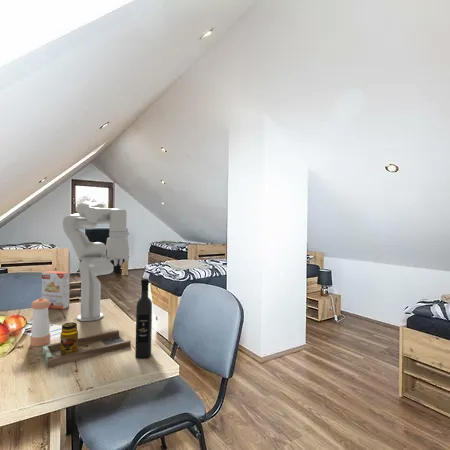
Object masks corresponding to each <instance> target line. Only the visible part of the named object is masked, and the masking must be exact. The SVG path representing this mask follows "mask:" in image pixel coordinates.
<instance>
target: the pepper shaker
mask: <svg viewBox="0 0 450 450" xmlns="http://www.w3.org/2000/svg"><path fill="white" fill-rule="evenodd" d="M30 306H31V309H32V322H31V328H30V329H31V331H30V332H31V335H30V336H29V337H30V339H29V340H30V341H29V342H30V343H29V344H30V346H31V347H42V346H45V345H49V344H51V333H50V329H51V328H50V327H51V326H50V319H49V318H50V317H49V308H48V307H49V306H50V301H49V300H47V299H43V298H42V297H39V298H38V299H35V300H33V301H32V302H31V304H30Z"/></svg>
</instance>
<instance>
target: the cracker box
mask: <svg viewBox="0 0 450 450" xmlns="http://www.w3.org/2000/svg"><path fill="white" fill-rule="evenodd" d="M70 275H71V273H70V271H57V270H47V271H43V272H41V298H43V299H47V300H49V301H50V306H49V307H48V309H53V310H65V309H67V308H69V307H70V284H71V283H70V280H71V276H70Z"/></svg>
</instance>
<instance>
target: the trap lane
mask: <svg viewBox="0 0 450 450" xmlns="http://www.w3.org/2000/svg"><path fill="white" fill-rule="evenodd" d="M100 341H101V342H103V343H104V344H105V345H102V346H98V347H93V348H89V349H84V350H80V351H79V352H75V353H71V354H67V355H62V356H54V357H53V354H52V353H53V352H58V351H60V347H61V346H60V342H55V343H49V344H46V345H43V346H41V354H42V356H43V358H44V359H43V360H44V361H45V362H46V364H47V368H52V367H56V366H60V365H65V364H69V363H72V362H76V361H79V360H80V361H81V360H83V359H88V358H91V357H96V356H99V355H104V354H107V353H111V352H116V351H120V350H124V349H127V348H131V347H132V346H131V344H132V343H131V339H127V340H124V339H122V337H120V331H119V330H118V329H117V330H112V331H107V332H103V333H98V334H94V335H89V336H83V337H78V347H79V346H83V345H88V344H92V343H98V342H100Z"/></svg>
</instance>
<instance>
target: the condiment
mask: <svg viewBox="0 0 450 450" xmlns="http://www.w3.org/2000/svg"><path fill="white" fill-rule="evenodd" d="M59 338H60V346H61V347H60V350H59V351H57V352H54V355H55V356H56V357H58V356H62V355H67V354H71V353H75V352H80V351H79V346H78V338H79V330H78V323H77V322H66V323H63V324H62V325H61V332H60V337H59Z"/></svg>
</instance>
